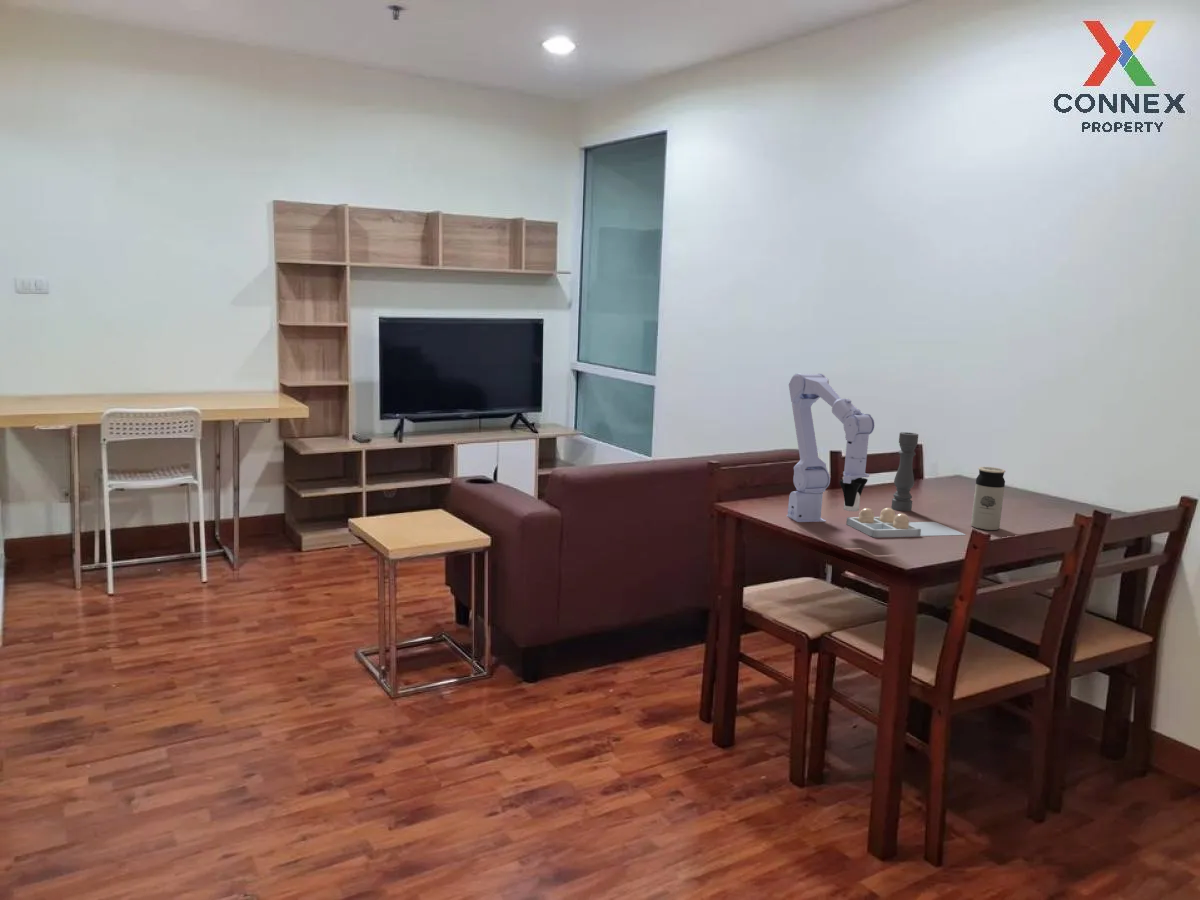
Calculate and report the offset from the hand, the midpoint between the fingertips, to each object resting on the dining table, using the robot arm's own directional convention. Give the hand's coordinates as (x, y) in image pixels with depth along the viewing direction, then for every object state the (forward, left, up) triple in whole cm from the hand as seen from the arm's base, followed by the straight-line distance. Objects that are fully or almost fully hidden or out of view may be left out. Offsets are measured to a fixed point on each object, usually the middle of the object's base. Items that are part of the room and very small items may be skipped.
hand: (851, 504), depth 255 cm
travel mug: (+49, +5, -9) cm, 50 cm away
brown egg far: (+16, +7, -8) cm, 19 cm away
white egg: (0, 0, -1) cm, 1 cm away
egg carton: (+20, +3, -9) cm, 22 cm away
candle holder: (+35, +28, -9) cm, 46 cm away
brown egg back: (+16, 0, -8) cm, 18 cm away
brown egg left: (+9, +7, -8) cm, 14 cm away
